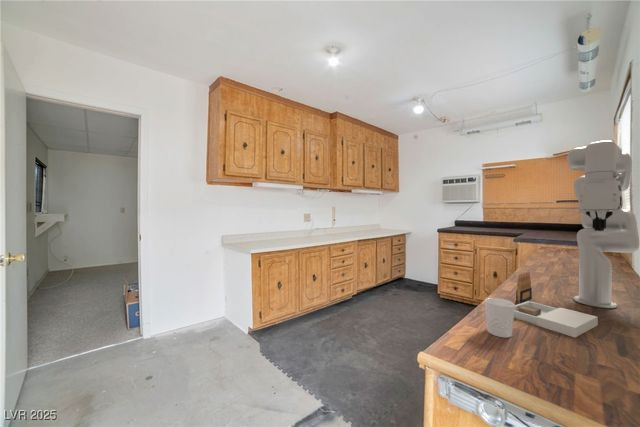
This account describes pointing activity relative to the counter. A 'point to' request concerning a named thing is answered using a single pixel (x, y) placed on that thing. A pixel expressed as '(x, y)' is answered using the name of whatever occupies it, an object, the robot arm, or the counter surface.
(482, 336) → the counter surface
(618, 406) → the counter surface
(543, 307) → the box
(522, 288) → the ammunition clip
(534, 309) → the walnut tile
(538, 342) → the counter surface
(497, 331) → the white cup
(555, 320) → the platform
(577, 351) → the counter surface
